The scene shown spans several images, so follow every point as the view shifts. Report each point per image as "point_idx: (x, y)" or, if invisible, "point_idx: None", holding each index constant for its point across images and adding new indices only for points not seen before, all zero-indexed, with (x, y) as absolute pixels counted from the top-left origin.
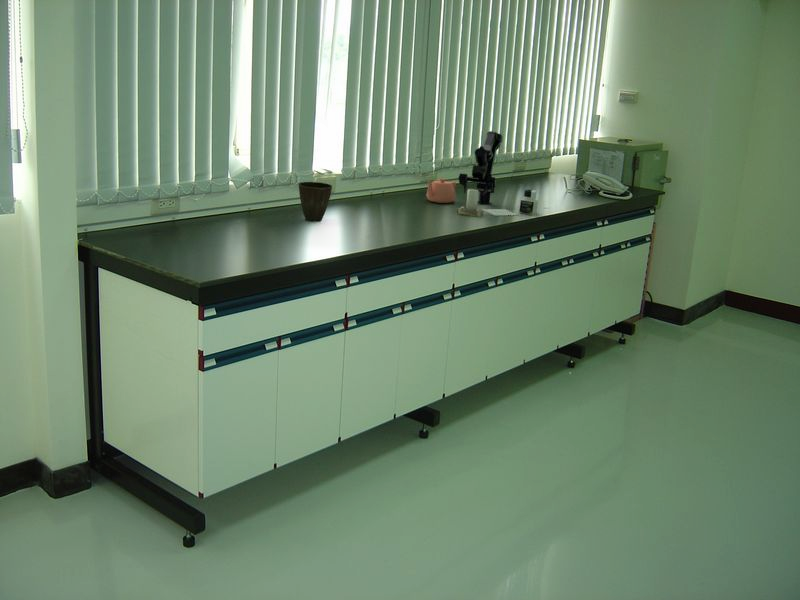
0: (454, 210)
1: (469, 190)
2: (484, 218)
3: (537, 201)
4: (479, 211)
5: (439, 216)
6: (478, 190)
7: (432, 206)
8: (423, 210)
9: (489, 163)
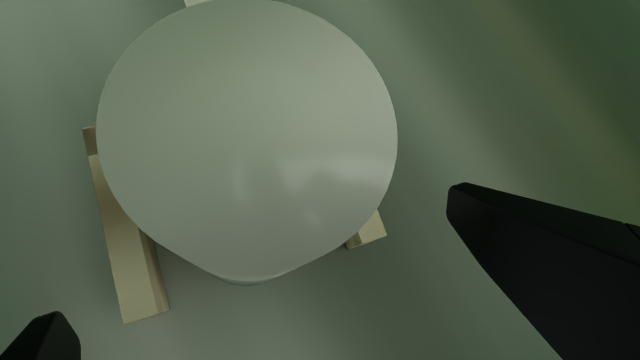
0: (433, 227)
1: (290, 9)
2: (23, 123)
3: None
4: (94, 144)
5: None
6: (101, 158)
7: (631, 216)
8: (545, 22)
9: None
